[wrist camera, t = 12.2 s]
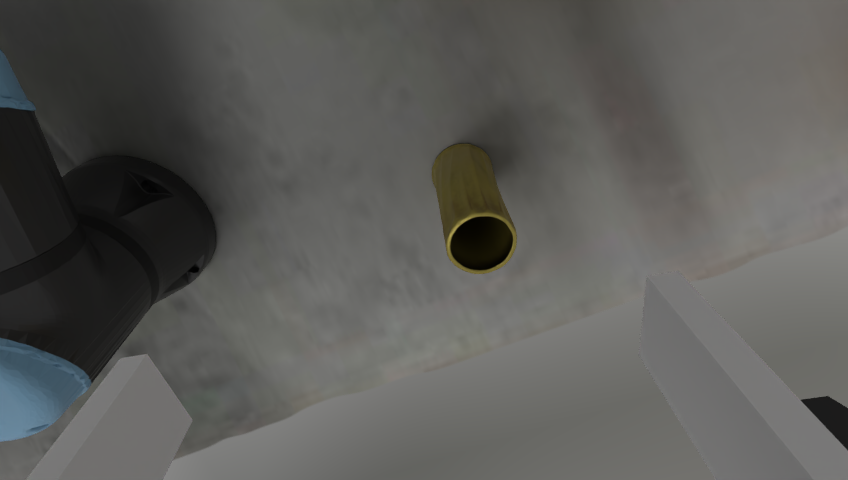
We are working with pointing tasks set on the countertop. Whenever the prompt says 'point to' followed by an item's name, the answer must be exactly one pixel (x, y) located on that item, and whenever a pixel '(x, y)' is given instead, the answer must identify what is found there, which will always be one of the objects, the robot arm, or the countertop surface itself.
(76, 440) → the robot arm
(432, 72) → the countertop surface
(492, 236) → the vase
